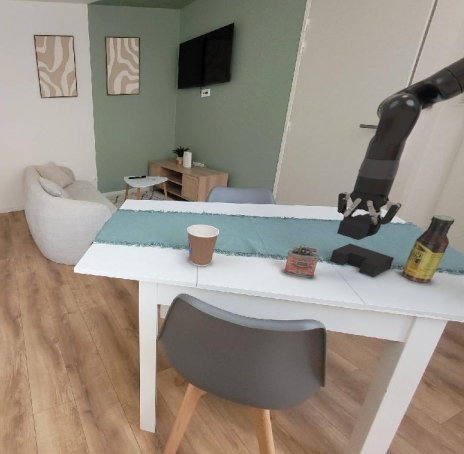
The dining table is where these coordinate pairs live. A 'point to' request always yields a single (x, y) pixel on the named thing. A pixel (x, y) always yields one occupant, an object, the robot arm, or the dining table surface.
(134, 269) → the dining table surface
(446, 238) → the sauce bottle
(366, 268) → the notch pad
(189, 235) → the coffee cup
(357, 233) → the pad
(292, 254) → the lighter
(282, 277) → the dining table surface
